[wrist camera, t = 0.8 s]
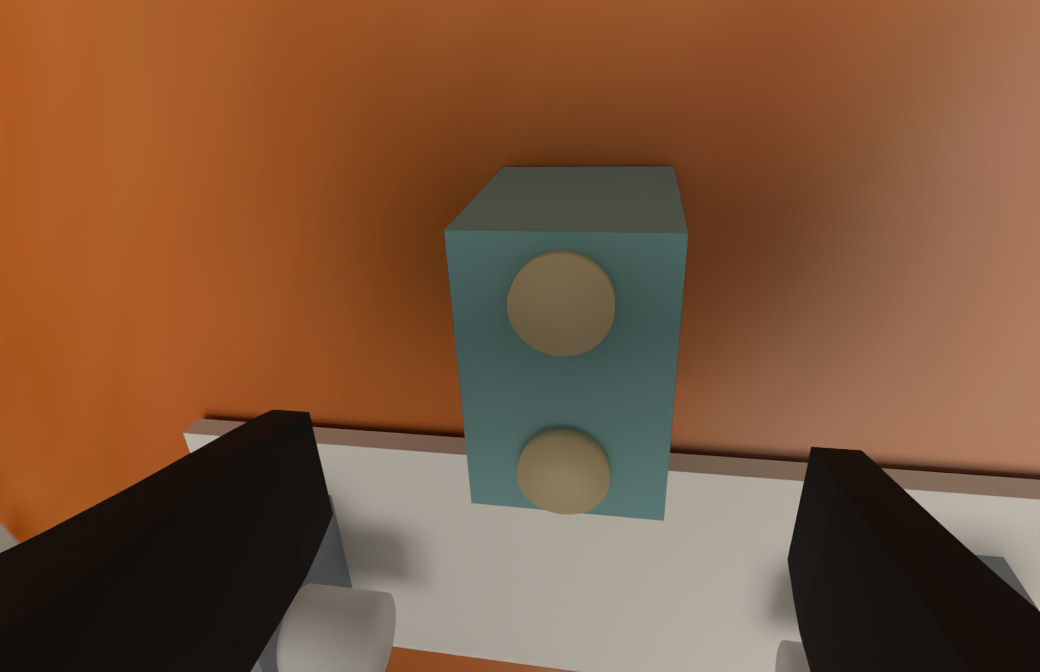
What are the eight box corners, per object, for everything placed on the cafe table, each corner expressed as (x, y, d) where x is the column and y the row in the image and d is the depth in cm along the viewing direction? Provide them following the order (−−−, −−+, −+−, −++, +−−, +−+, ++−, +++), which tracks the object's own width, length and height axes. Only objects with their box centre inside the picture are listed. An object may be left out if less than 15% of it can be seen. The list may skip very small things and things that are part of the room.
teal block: (658, 389, 17) (664, 535, 12) (514, 381, 18) (466, 517, 13) (674, 166, 14) (689, 241, 9) (502, 166, 15) (437, 238, 10)
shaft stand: (972, 701, 20) (1078, 924, 15) (262, 609, 24) (166, 760, 19) (1073, 482, 16) (1266, 691, 11) (199, 418, 20) (56, 548, 15)
